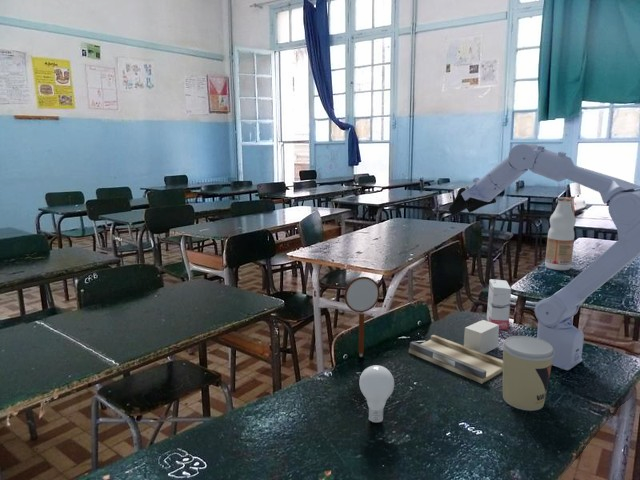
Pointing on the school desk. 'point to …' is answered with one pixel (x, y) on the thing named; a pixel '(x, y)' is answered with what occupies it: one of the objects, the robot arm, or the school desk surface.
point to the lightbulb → (376, 390)
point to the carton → (481, 336)
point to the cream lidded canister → (526, 371)
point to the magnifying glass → (361, 301)
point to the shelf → (458, 358)
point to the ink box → (499, 303)
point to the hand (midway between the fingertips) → (459, 210)
